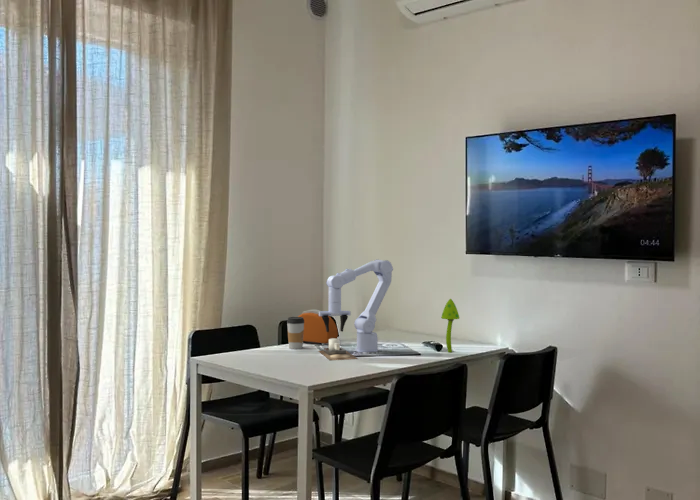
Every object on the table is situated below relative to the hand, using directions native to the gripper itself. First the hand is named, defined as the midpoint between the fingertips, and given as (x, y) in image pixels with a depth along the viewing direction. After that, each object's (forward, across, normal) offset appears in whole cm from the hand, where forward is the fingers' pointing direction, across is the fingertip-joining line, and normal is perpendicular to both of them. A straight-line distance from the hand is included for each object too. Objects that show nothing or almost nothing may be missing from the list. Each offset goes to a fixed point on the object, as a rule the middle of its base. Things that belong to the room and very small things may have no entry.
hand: (334, 331), depth 319 cm
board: (+10, 0, +5) cm, 12 cm away
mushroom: (+10, -53, +9) cm, 55 cm away
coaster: (+10, 0, +10) cm, 14 cm away
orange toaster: (+11, +3, -32) cm, 34 cm away
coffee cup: (+11, +15, -17) cm, 25 cm away
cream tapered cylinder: (+10, 0, +1) cm, 10 cm away
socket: (+10, 0, 0) cm, 10 cm away
